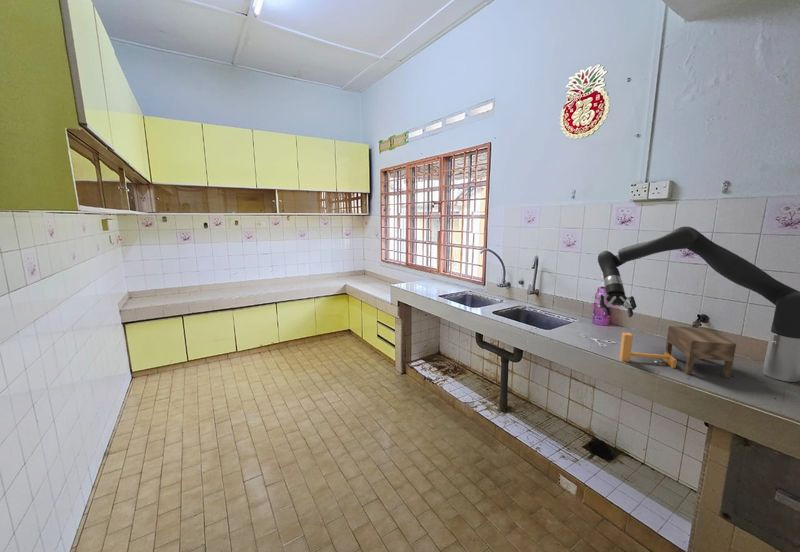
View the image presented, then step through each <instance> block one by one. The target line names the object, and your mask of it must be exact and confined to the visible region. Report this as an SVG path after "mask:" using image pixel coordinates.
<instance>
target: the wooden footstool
mask: <svg viewBox="0 0 800 552" xmlns="http://www.w3.org/2000/svg"><path fill="white" fill-rule="evenodd" d="M673 347H674V348H676V349H677V350H678V351H679V352H681V353H683V355H685V356H686V362H685V367H684V373H685V374H686V375H692V374H693V369H694V363H695V362H694V361H695V359H699V361H705V360H713V361H724V364H723V370H722V377H724V378H725V379H731V375H732V369H733V364H734V360H735V359H734V358H735V354H736V347H737V344H736V343H735V342H733V341H731V340H729V339H728V338H726V337H725V336H722V335H720V334H719V333H717V332H715V331H714V330H712V329H709V328H706V327H690V326H676V325H674V326H673V325H669V326H668V330H667V337H666V346H665V351H664V352H667V353H669V354H670V355H671V356H672V352H673Z"/></svg>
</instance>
